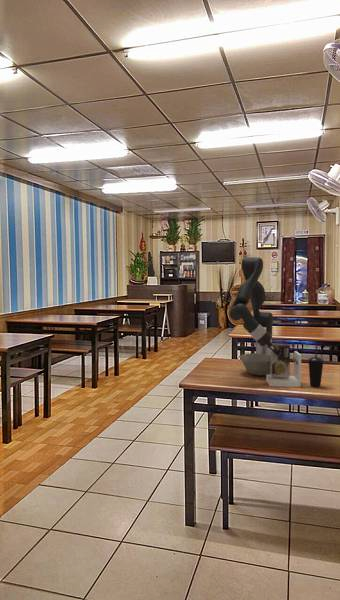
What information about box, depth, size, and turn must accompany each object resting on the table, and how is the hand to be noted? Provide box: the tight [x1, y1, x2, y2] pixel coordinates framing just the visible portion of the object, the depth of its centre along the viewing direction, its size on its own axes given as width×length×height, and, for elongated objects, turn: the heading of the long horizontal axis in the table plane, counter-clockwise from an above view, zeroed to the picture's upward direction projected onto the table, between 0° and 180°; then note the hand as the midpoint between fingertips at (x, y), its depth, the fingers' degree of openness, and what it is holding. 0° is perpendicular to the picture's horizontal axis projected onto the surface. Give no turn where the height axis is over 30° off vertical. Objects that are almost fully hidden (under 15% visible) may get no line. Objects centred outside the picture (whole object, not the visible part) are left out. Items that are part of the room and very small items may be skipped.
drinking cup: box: [307, 346, 325, 388], centre depth 212 cm, size 8×8×20 cm
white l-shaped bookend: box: [265, 350, 302, 388], centre depth 217 cm, size 12×15×16 cm
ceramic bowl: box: [238, 352, 271, 376], centre depth 238 cm, size 22×23×10 cm
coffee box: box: [269, 343, 291, 377], centre depth 217 cm, size 9×6×16 cm
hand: (283, 358), depth 217 cm, fingers closed on coffee box, 6 cm apart
